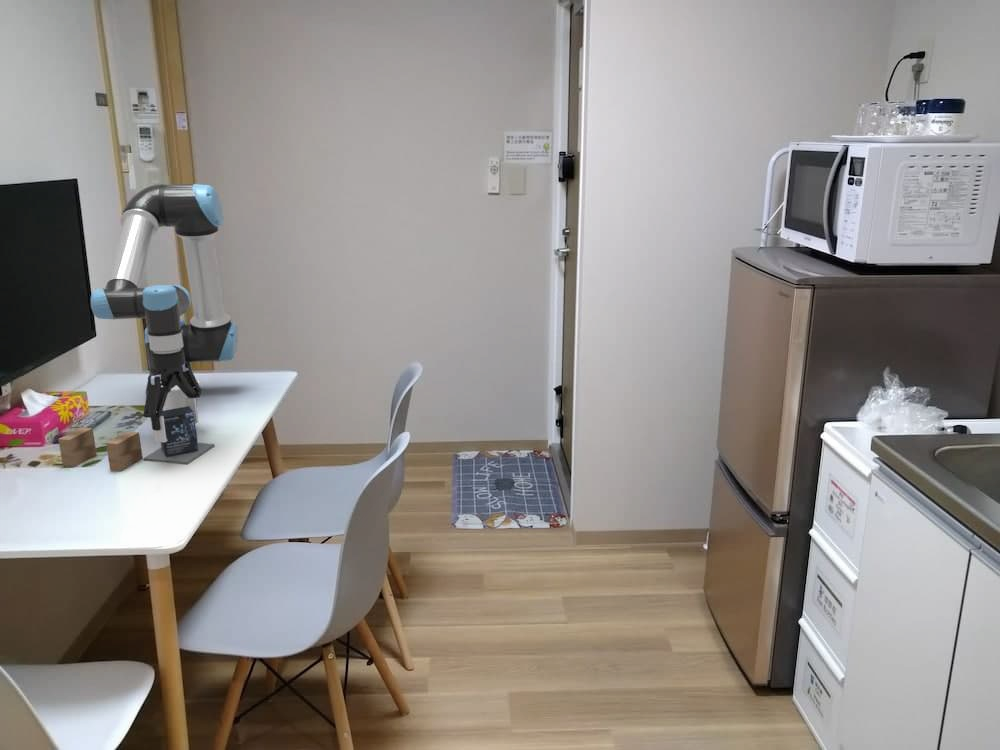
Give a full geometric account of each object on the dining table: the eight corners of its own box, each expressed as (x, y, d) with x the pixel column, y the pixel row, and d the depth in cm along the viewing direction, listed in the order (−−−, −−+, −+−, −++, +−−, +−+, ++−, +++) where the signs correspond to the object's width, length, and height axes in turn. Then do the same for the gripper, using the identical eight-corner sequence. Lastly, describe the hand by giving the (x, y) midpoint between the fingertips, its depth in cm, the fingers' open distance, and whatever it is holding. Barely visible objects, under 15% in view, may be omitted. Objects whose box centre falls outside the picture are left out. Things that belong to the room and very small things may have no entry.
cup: (164, 441, 201) (158, 392, 198) (161, 428, 210) (155, 381, 206) (206, 434, 206) (201, 386, 202) (201, 422, 215) (196, 376, 211)
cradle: (86, 453, 193) (81, 427, 191) (142, 458, 190) (138, 432, 188) (62, 465, 186) (58, 438, 184) (121, 471, 183) (117, 444, 181)
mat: (172, 442, 200) (172, 440, 200) (214, 446, 198) (214, 444, 198) (143, 460, 189) (143, 458, 189) (187, 464, 187) (187, 462, 187)
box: (165, 457, 189) (160, 417, 186) (161, 450, 194) (156, 410, 191) (199, 451, 193) (194, 411, 190) (194, 444, 198) (189, 405, 195)
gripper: (183, 336, 198) (192, 413, 204) (119, 362, 175) (131, 449, 181) (209, 338, 197) (218, 415, 203) (148, 364, 173) (160, 451, 180)
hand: (177, 431), depth 192 cm, fingers open, 13 cm apart
